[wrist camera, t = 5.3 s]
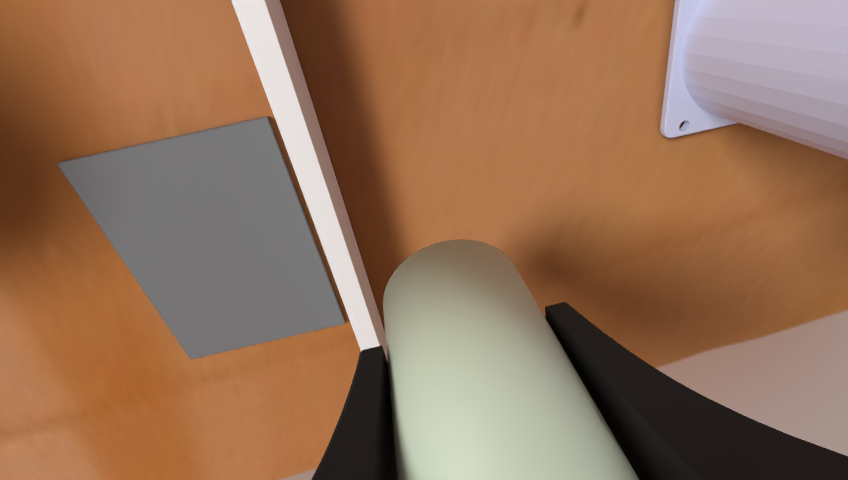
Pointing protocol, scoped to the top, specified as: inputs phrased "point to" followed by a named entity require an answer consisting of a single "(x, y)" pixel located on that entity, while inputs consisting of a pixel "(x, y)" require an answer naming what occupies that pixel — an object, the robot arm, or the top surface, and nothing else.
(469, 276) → the green cylinder
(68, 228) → the top surface
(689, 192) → the top surface
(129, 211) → the mat
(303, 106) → the low wall
